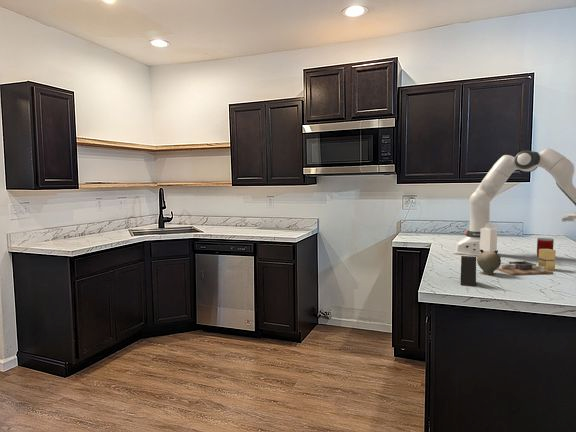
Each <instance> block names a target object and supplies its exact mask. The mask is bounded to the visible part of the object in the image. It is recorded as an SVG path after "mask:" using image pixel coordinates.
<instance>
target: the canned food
mask: <svg viewBox="0 0 576 432" xmlns="http://www.w3.org/2000/svg"><path fill="white" fill-rule="evenodd" d="M554 242H555V241H554V238H552V237H551V238H550V237H538V238H537V240H536V257H537V258H539V249H552V250H554V246H555V245H554V244H555V243H554Z"/></svg>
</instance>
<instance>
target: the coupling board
mask: <svg viewBox="0 0 576 432" xmlns="http://www.w3.org/2000/svg"><path fill="white" fill-rule="evenodd" d="M498 270H499V271H498ZM495 271H498V272H502V273H505V274H507V275H511V276H525V275H526V276H528V275H527V274H534V275H553V274H554V271H553V270H545V267H542V266H538V265H537V263H534V262H533V263H532V262H529V261H526V260H525V261H524V260H520V261H517V260H515V261H509V262H508V263H504V264H503V263H502V264H500V267H499V268H497V269H496V270H495Z"/></svg>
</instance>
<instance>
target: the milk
mask: <svg viewBox="0 0 576 432" xmlns="http://www.w3.org/2000/svg"><path fill="white" fill-rule="evenodd" d="M497 247H498V228H497V227H495V226H494V225H493V222H489V223H486V226H485V227H483V228H481V233H480V250H483V251H497ZM480 253H481V252H480Z"/></svg>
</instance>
